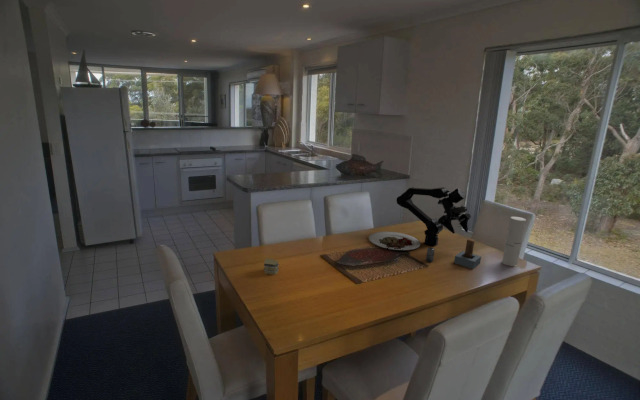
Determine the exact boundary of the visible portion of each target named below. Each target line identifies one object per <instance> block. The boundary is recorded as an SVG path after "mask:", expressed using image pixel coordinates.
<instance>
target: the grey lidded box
mask: <svg viewBox="0 0 640 400" xmlns="http://www.w3.org/2000/svg"><path fill="white" fill-rule="evenodd" d="M279 263H280V261H278V260H276V259H272V258H265V259H264V261H263V271H264V274H265V275H272V276H276V275H277V274H278V272H279V269H280V268H279V265H280V264H279Z"/></svg>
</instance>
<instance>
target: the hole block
mask: <svg viewBox="0 0 640 400" xmlns="http://www.w3.org/2000/svg"><path fill="white" fill-rule="evenodd" d="M464 256H465V250H462V251H460V252H459V253H456V254H455V256H454V260H453V263H454V264H456V265H460V266H462V267H465V268H469V269H472V270H473V269H474V270H475V268H476V267H478V266H479V265H480V264H481V260H482V256H480V255H478V254H474V253H472V259H469V258H466V257H464Z"/></svg>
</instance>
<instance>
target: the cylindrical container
mask: <svg viewBox="0 0 640 400" xmlns="http://www.w3.org/2000/svg"><path fill="white" fill-rule="evenodd" d="M526 222H527V218H524V217H521V216H520V217H519V216H510V219H509V223H508V228H507V234H506V240H505V244H504V250H503V254H502V261H501V263H502V264H504V265H506V266H509V265H510V266H511V267H516V266H515V265H517V266H518V262H519V257H520V251H521V247H522V242H523V237H524V232H525V226H526Z"/></svg>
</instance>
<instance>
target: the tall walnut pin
mask: <svg viewBox="0 0 640 400" xmlns="http://www.w3.org/2000/svg"><path fill="white" fill-rule="evenodd" d="M475 241H476V240H475V239H473V238H467V239H466V243H465V245H466V246H465V250H464V252H465V256H464V257H466V258H469V259H472V254H474V253H473V252H474V246H475Z"/></svg>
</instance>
